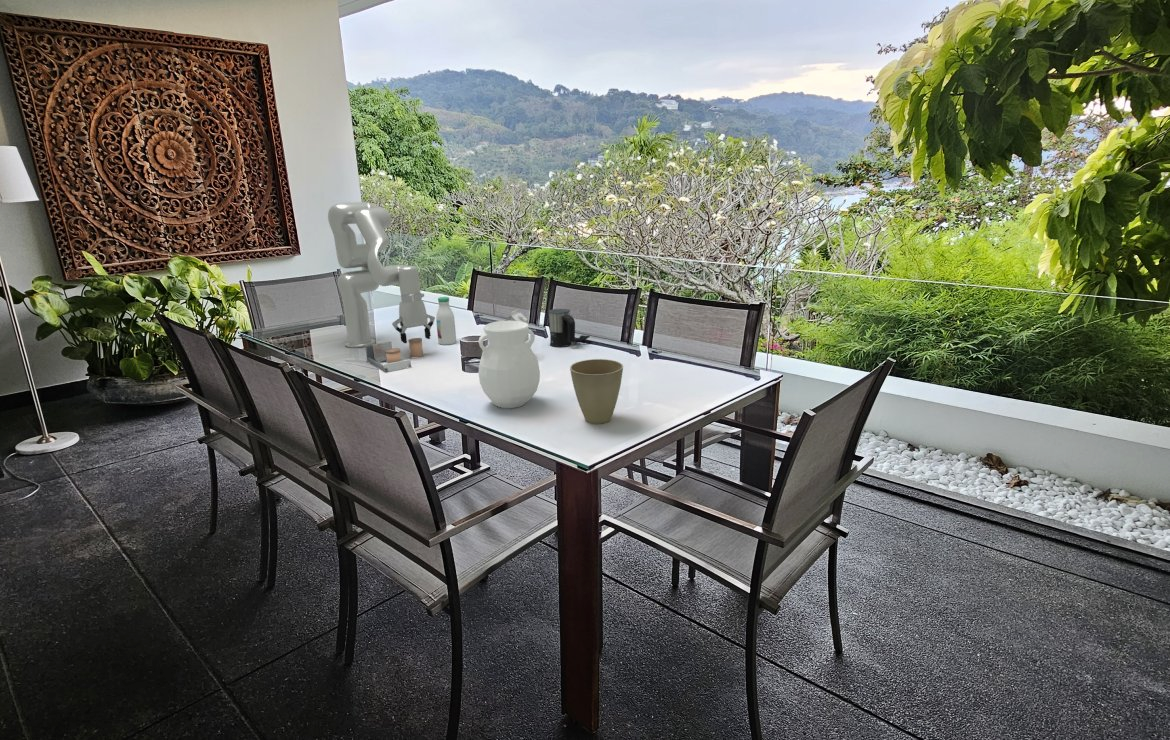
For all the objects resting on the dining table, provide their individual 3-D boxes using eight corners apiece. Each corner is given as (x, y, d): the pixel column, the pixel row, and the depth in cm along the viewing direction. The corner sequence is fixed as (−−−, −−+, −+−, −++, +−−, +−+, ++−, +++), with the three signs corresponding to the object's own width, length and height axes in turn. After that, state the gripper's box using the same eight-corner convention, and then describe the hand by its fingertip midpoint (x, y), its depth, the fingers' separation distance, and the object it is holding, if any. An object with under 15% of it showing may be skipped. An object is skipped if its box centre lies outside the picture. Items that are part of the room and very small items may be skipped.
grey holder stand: (367, 361, 242) (365, 346, 240) (392, 356, 248) (390, 342, 246) (385, 372, 227) (383, 356, 225) (411, 367, 233) (409, 352, 231)
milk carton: (505, 359, 240) (502, 311, 234) (513, 355, 246) (511, 308, 241) (521, 361, 237) (518, 312, 232) (529, 356, 243) (527, 309, 238)
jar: (408, 356, 248) (406, 339, 246) (420, 353, 251) (418, 337, 249) (413, 358, 244) (411, 341, 242) (425, 356, 247) (424, 339, 245)
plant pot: (580, 408, 186) (579, 357, 181) (628, 412, 181) (628, 360, 177) (564, 426, 172) (562, 372, 167) (616, 431, 168) (615, 375, 163)
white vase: (489, 418, 180) (483, 334, 172) (474, 399, 196) (468, 322, 189) (549, 408, 187) (546, 327, 179) (530, 390, 203) (526, 316, 196)
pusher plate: (368, 358, 245) (366, 341, 243) (386, 355, 249) (384, 338, 247) (375, 362, 239) (373, 344, 237) (393, 359, 243) (391, 341, 241)
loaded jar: (385, 367, 233) (383, 349, 231) (399, 365, 236) (397, 347, 234) (390, 370, 229) (388, 352, 227) (404, 367, 232) (402, 350, 230)
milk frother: (545, 345, 260) (543, 311, 256) (567, 338, 272) (566, 304, 268) (572, 350, 252) (571, 314, 248) (593, 341, 264) (593, 307, 260)
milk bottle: (458, 340, 271) (454, 295, 266) (453, 345, 264) (449, 299, 258) (441, 340, 272) (437, 296, 266) (435, 345, 265) (431, 299, 259)
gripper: (428, 294, 249) (432, 335, 253) (386, 300, 239) (391, 342, 244) (435, 296, 243) (440, 338, 248) (393, 302, 233) (398, 346, 238)
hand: (416, 340), depth 246 cm, fingers open, 9 cm apart
